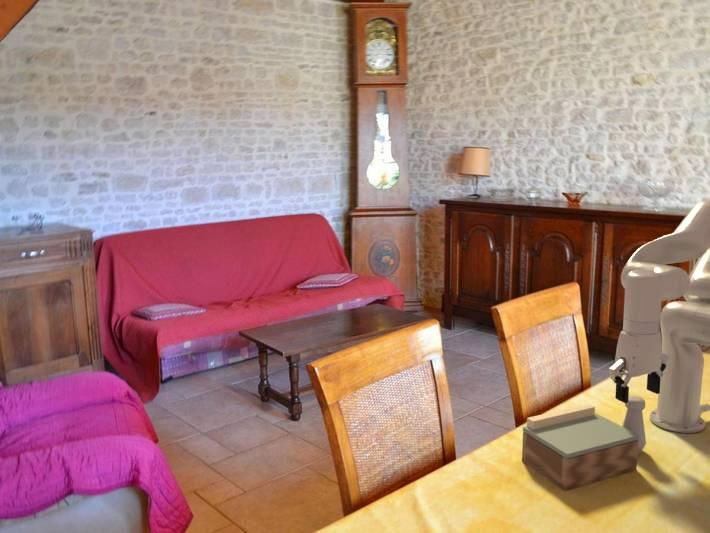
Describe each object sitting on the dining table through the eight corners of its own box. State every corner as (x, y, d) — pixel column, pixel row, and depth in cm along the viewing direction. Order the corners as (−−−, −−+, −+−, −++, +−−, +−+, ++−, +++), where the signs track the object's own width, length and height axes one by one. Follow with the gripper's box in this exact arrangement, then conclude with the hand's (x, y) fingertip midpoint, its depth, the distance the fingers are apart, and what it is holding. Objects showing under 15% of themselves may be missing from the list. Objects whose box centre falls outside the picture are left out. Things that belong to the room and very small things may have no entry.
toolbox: (589, 443, 153) (591, 415, 152) (636, 469, 141) (638, 440, 139) (521, 460, 145) (523, 432, 144) (565, 490, 133) (566, 459, 131)
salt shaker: (647, 457, 146) (651, 404, 143) (620, 455, 147) (624, 402, 145) (642, 445, 152) (646, 393, 149) (616, 443, 153) (619, 392, 150)
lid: (591, 414, 152) (592, 403, 151) (638, 439, 139) (639, 426, 139) (523, 431, 144) (523, 418, 143) (566, 458, 131) (567, 445, 131)
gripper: (655, 315, 150) (651, 383, 154) (599, 327, 143) (596, 398, 147) (683, 323, 143) (678, 394, 147) (625, 337, 137) (622, 411, 141)
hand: (637, 396), depth 147 cm, fingers open, 9 cm apart
